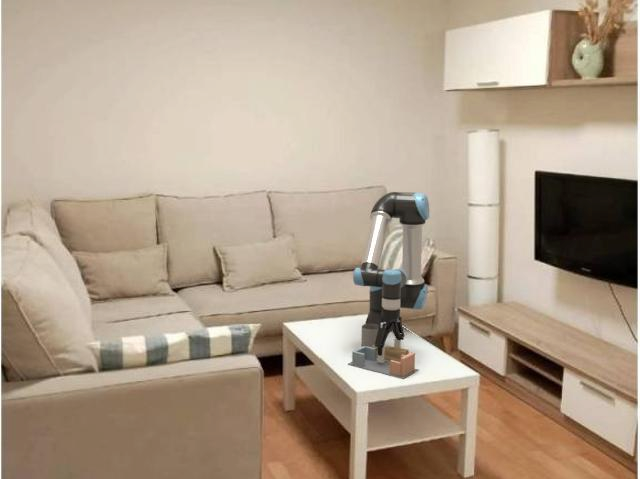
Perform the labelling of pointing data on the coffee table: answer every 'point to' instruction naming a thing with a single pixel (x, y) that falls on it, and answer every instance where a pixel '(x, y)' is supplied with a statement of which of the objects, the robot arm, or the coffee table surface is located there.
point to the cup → (369, 334)
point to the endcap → (403, 365)
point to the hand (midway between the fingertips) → (389, 358)
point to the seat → (372, 362)
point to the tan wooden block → (392, 353)
